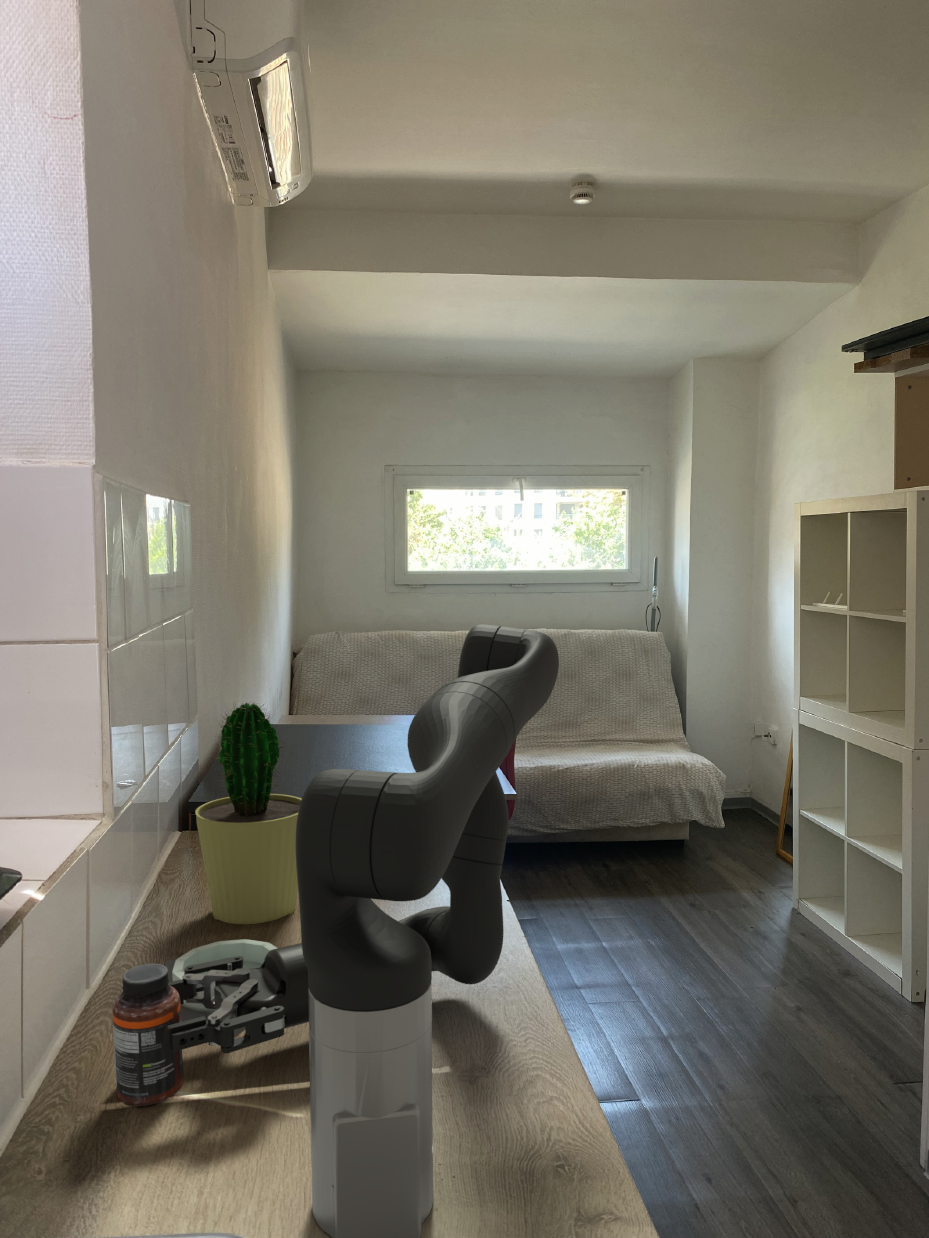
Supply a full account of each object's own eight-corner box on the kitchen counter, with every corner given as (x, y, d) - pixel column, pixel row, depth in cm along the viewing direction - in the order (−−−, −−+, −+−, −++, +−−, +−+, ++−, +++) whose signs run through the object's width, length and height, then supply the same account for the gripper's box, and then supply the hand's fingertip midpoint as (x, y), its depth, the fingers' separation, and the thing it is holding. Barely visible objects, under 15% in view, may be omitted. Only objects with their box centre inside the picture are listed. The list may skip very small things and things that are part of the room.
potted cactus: (321, 922, 125) (317, 703, 123) (203, 940, 119) (198, 710, 117) (298, 885, 139) (295, 688, 137) (192, 899, 133) (187, 694, 131)
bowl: (282, 1006, 100) (281, 980, 100) (167, 1017, 98) (167, 990, 98) (283, 960, 112) (282, 936, 112) (180, 968, 110) (180, 944, 110)
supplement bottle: (160, 1065, 89) (157, 952, 89) (196, 1087, 86) (193, 969, 85) (102, 1093, 85) (99, 973, 84) (138, 1117, 81) (134, 993, 80)
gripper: (292, 919, 99) (136, 952, 91) (345, 969, 87) (169, 1013, 79) (293, 986, 100) (138, 1025, 91) (346, 1046, 87) (172, 1097, 79)
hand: (153, 1019), depth 85 cm, fingers open, 8 cm apart
